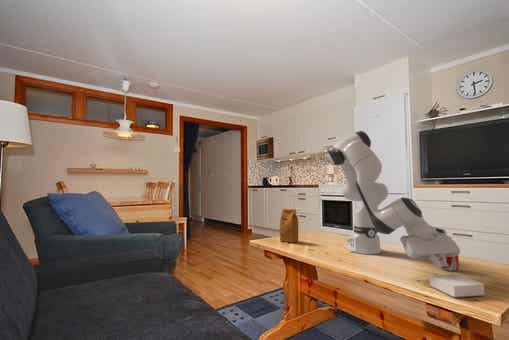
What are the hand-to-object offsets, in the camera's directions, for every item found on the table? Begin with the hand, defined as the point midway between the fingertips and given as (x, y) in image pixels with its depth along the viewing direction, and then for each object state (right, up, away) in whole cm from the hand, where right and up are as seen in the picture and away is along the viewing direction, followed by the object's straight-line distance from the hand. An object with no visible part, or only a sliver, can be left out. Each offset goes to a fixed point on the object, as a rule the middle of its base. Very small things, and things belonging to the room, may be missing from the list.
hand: (443, 267), depth 95 cm
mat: (+1, -7, -5) cm, 8 cm away
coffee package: (-46, -13, +81) cm, 94 cm away
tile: (0, -5, 0) cm, 5 cm away
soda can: (+16, -8, +19) cm, 26 cm away
